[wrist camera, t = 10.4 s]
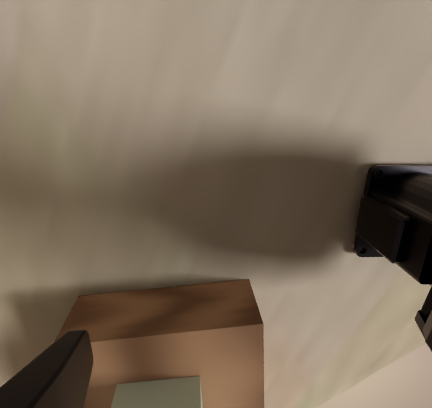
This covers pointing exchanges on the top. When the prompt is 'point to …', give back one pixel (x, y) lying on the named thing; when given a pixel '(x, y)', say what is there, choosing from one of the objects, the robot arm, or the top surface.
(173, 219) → the top surface
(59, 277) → the top surface
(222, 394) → the walnut block
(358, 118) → the top surface
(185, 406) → the sage green block
